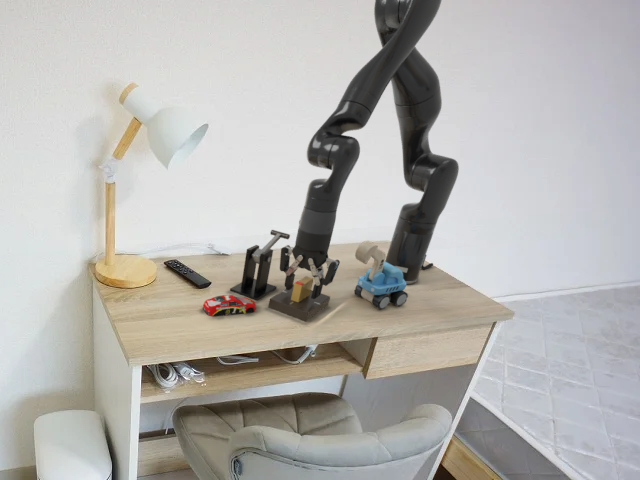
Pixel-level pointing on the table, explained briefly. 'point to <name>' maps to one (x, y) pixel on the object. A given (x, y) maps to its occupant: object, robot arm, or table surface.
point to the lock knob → (302, 289)
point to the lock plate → (298, 305)
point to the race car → (228, 305)
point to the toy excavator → (379, 278)
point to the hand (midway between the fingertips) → (301, 293)
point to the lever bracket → (257, 286)
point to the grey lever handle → (269, 244)
